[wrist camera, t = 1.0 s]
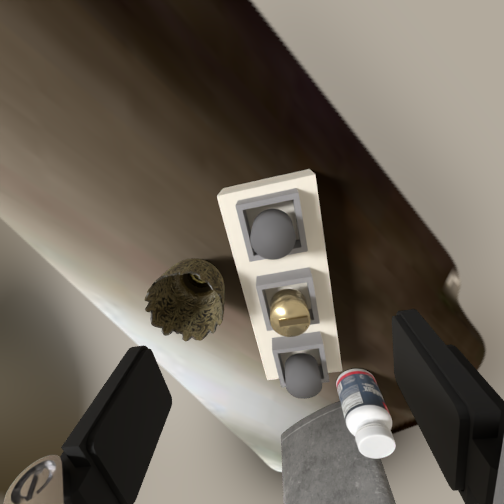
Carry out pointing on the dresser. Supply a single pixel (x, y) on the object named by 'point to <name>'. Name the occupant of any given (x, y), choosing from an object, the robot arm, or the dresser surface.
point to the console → (284, 269)
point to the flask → (329, 464)
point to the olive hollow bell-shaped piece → (187, 299)
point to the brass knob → (289, 313)
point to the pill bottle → (366, 413)
